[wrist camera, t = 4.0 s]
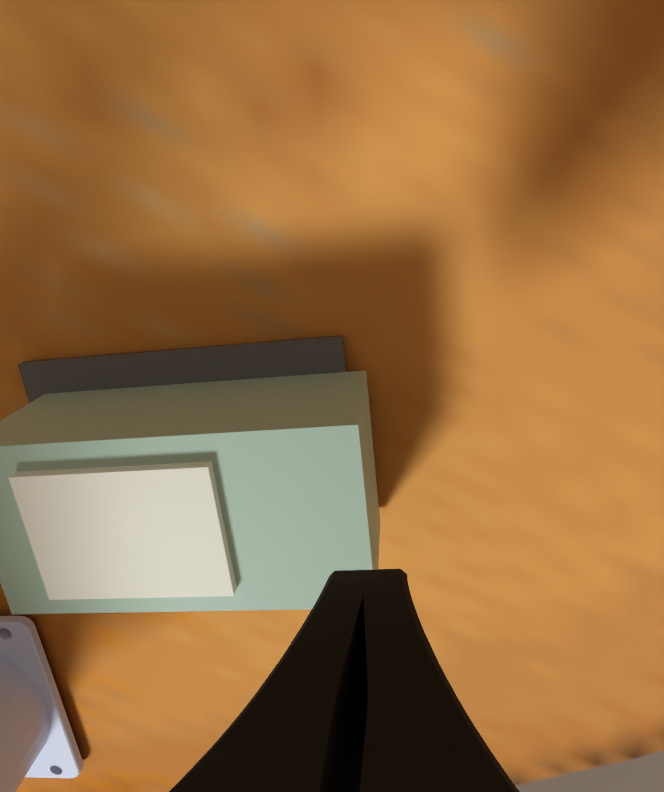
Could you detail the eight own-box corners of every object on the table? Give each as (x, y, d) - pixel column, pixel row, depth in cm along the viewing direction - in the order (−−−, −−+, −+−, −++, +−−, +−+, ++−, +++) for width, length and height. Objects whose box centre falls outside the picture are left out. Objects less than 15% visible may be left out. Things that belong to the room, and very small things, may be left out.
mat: (81, 551, 20) (76, 557, 20) (23, 361, 18) (17, 364, 17) (364, 542, 19) (363, 547, 18) (342, 335, 16) (341, 338, 16)
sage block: (380, 520, 18) (85, 531, 19) (366, 370, 16) (45, 393, 18) (376, 616, 14) (4, 622, 15) (357, 430, 12) (-58, 454, 14)
